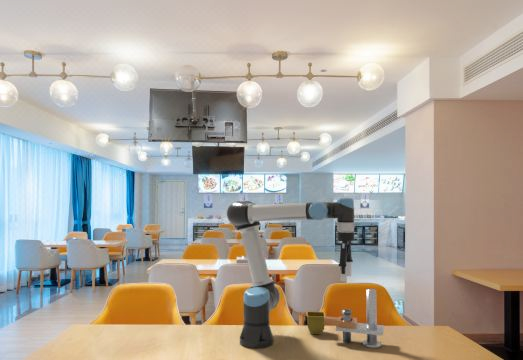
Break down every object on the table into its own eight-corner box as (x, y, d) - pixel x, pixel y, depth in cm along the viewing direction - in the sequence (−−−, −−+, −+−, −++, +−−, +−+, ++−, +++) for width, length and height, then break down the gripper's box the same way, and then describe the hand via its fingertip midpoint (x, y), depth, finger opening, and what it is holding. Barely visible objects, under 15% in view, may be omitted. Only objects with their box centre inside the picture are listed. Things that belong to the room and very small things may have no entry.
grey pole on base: (384, 342, 187) (383, 288, 188) (382, 349, 178) (382, 293, 179) (327, 336, 196) (326, 284, 197) (322, 342, 187) (322, 288, 188)
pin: (351, 344, 185) (351, 312, 186) (341, 342, 187) (340, 311, 187) (352, 340, 189) (352, 309, 190) (342, 339, 191) (342, 308, 192)
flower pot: (324, 330, 205) (324, 311, 205) (325, 336, 196) (325, 316, 197) (306, 329, 206) (306, 311, 206) (306, 335, 197) (306, 316, 198)
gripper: (350, 233, 178) (350, 284, 177) (357, 230, 201) (357, 274, 200) (332, 233, 180) (332, 282, 179) (341, 229, 204) (342, 273, 203)
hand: (345, 278), depth 190 cm, fingers open, 13 cm apart
